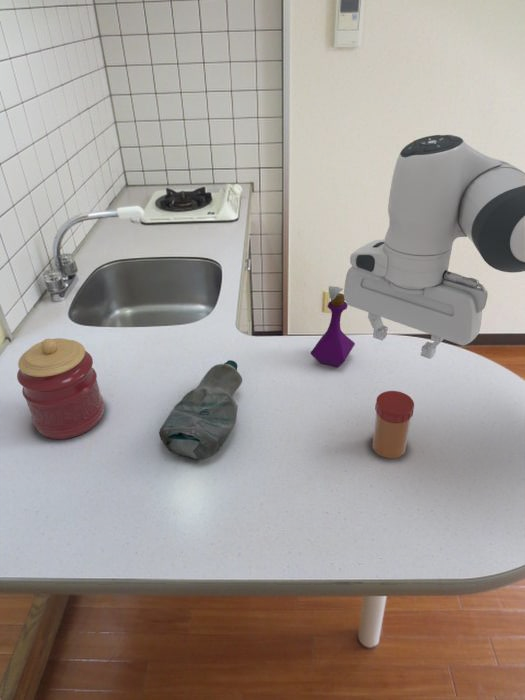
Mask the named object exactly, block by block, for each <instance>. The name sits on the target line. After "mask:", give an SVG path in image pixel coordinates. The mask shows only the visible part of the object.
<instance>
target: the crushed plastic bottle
mask: <svg viewBox="0 0 525 700" xmlns="http://www.w3.org/2000/svg"><path fill="white" fill-rule="evenodd" d="M242 383H243V377H242V375H241V374H240V372H239V371H238V363H237V362H236V361H234V360H231V359H230V360H227V361H226V362H224V363H218V364H215V365H214V366H212V367H211V368H210V369H208V371H207V372H206V374H205V375H204V376H203V377H202V378H201V380H200V382H199V384H198V385H197V386H196V387H195V388H193V389H191V390H190V391H188V392H187V393H186V394H185V395H184V396H183V397H182V399H181V400H179V402H178V403H176V404H175V406H174V407H173V409H172V410H171V411H170V413H169V415H168V416H167V418H166V419H165V420H164V423H163V424H162V425H161V427H160V429H159V431H158V434H159V435H158V436H159V438H160V440H161V442H162V444H163V445H164V447H166V448H167V450H168V451H169V452H172V453H174V454H176V455H178V456H182V457H185V458H189V459H192V460H206V459H207V460H208V459H209V458H211V457H214V456H215V455H217V453H219V452H220V450H221V449H222V447H223V445H224V444H225V442H226V441H227V439H228V437H229V436H230V434H231V432H232V431H233V430H234V427H235V425H236V422H237V417H238V410H239V409H238V408H239V405H238V404H237V402H236V401H235V399H234V398H233V397H232V396H234V394H235V393H236V392H237V390H238V389H239V388H240V387H241V385H242Z"/></svg>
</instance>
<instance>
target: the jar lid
mask: <svg viewBox="0 0 525 700" xmlns="http://www.w3.org/2000/svg"><path fill="white" fill-rule="evenodd" d="M374 407H375V408H374V410H375V414H376V413H377V415H378V416H379V417H380V418H381V419H383V420H385V421H388V422H391V423H402V422H406V421H408V420H409V419H410V418H412V417H413V414H414V410H415V402H414V400H413V398H412V397H411V396H409V395H408V394H406V393H404V392H402V391H398V390H387V391H383V392H381V393H379V395H377V397H376V400H375V404H374ZM410 420H411V419H410Z"/></svg>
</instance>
